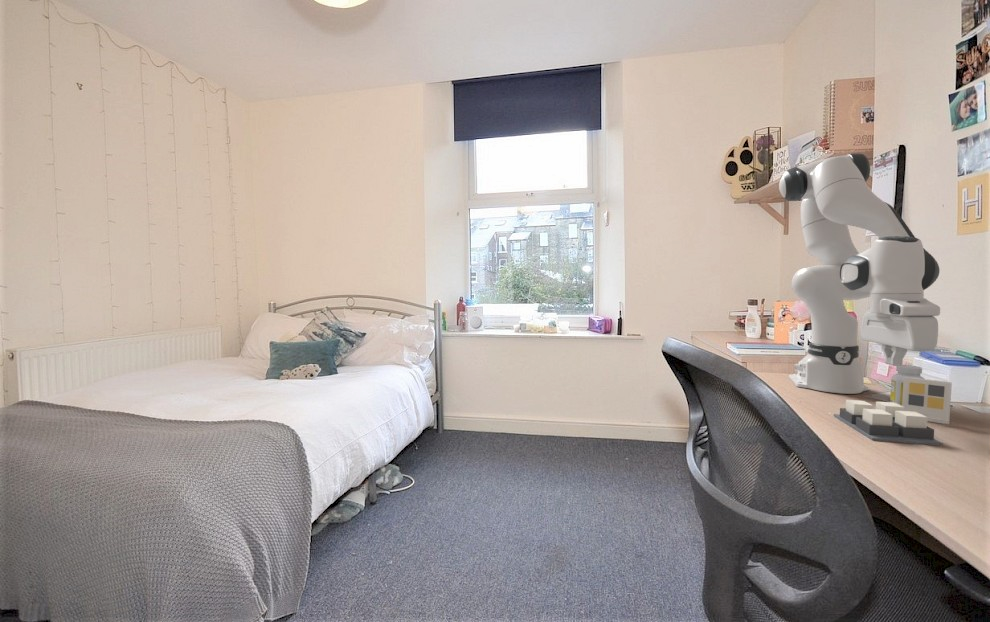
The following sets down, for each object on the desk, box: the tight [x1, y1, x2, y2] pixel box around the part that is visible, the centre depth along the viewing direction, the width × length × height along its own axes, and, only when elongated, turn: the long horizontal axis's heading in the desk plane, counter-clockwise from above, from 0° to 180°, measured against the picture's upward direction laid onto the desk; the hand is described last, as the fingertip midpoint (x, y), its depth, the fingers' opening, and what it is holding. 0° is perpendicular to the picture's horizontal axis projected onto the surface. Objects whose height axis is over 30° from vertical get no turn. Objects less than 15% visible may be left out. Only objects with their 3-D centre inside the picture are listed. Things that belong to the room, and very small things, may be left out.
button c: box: [845, 399, 874, 415], centre depth 97 cm, size 4×4×3 cm
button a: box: [875, 401, 905, 417], centre depth 95 cm, size 4×4×3 cm
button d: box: [862, 408, 893, 426], centre depth 90 cm, size 4×4×3 cm
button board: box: [833, 407, 944, 446], centre depth 93 cm, size 16×12×3 cm
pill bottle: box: [889, 364, 925, 406], centre depth 106 cm, size 6×6×12 cm
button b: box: [895, 411, 928, 429], centre depth 88 cm, size 4×4×3 cm
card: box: [902, 377, 953, 425], centre depth 98 cm, size 2×8×10 cm, turn 44°
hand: (893, 364), depth 94 cm, fingers closed
